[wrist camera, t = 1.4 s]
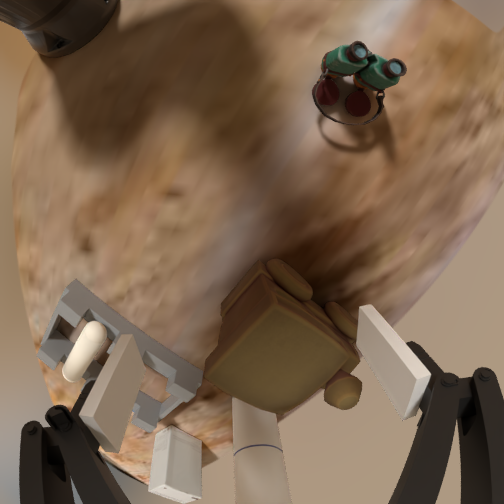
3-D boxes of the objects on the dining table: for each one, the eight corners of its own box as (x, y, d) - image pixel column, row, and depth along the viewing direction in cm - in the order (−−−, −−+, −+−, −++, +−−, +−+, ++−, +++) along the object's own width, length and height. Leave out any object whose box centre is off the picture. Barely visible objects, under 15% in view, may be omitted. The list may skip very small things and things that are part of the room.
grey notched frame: (48, 336, 40) (32, 354, 34) (75, 278, 37) (56, 295, 31) (157, 412, 46) (152, 436, 40) (203, 371, 43) (200, 397, 37)
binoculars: (325, 108, 24) (344, 23, 20) (302, 115, 33) (318, 49, 30) (403, 138, 25) (418, 58, 21) (364, 135, 35) (378, 71, 31)
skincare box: (155, 432, 48) (144, 490, 34) (172, 422, 47) (162, 484, 33) (187, 449, 50) (182, 505, 36) (205, 440, 49) (202, 500, 35)
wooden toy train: (208, 301, 39) (196, 384, 24) (260, 238, 37) (281, 295, 21) (309, 365, 44) (337, 443, 28) (358, 316, 42) (409, 385, 26)
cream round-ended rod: (65, 364, 38) (56, 377, 34) (94, 311, 35) (84, 324, 32) (81, 377, 39) (73, 390, 35) (114, 326, 36) (105, 340, 33)
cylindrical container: (280, 392, 45) (307, 520, 22) (261, 415, 47) (277, 534, 23) (242, 381, 44) (252, 519, 20) (225, 406, 46) (227, 532, 22)
